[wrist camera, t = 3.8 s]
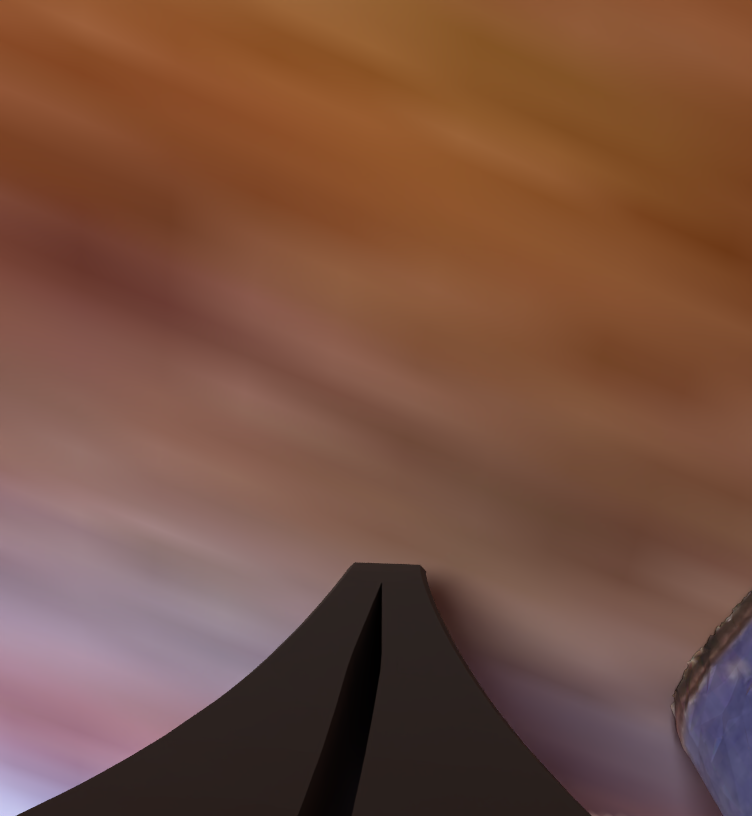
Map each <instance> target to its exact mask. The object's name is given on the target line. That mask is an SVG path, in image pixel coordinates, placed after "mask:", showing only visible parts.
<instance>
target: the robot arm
mask: <svg viewBox="0 0 752 816" xmlns="http://www.w3.org/2000/svg"><path fill="white" fill-rule="evenodd" d="M17 816H591V815H590V814H589V813H588V812H587V811H586V810H585V809H584V808H583V807H582V806H581V805H580V804H579V803H578V802H577V801H576V800H575V799H574V798H573V797H572V796H571V795H570V794H569V793H568V792H567V791H566V789H565V788H564V787H563V786H562V785H561V784H560V783H559V782H558V781H557V780H556V779H555V777H554V776H553V775H552V774H551V773H550V772H549V771H548V770H547V769H546V768H545V766H544V765H543V764H542V763H541V762H540V761H539V760H538V759H537V758H536V757H535V755H534V754H533V753H532V752H531V751H530V750H529V749H528V748H527V747H526V746H525V744H524V743H523V742H522V741H521V740H520V738H519V737H518V736H517V734H516V733H515V732H514V731H513V729H512V728H511V727H510V726H509V724H508V723H507V722H506V721H505V719H504V718H503V717H502V716H501V714H500V713H499V712H498V710H497V709H496V707H495V706H494V705H493V703H492V702H491V701H490V699H489V698H488V697H487V695H486V694H485V692H484V691H483V689H482V688H481V686H480V685H479V683H478V682H477V680H476V679H475V677H474V676H473V674H472V673H471V671H470V669H469V668H468V666H467V664H466V663H465V661H464V659H463V658H462V656H461V654H460V653H459V651H458V649H457V647H456V646H455V644H454V642H453V640H452V638H451V636H450V634H449V632H448V630H447V628H446V626H445V624H444V622H443V620H442V618H441V616H440V614H439V612H438V609H437V607H436V605H435V602H434V600H433V597H432V595H431V592H430V589H429V586H428V582H427V578H426V571H425V570H424V569H423V568H422V567H421V566H420V565H409V564H381V563H354V564H353V565H352V566H351V567H349V569H348V570H347V571H346V572H345V574H344V575H343V576H342V578H341V579H340V580H339V581H338V583H337V584H336V585H335V586H334V588H333V589H332V590H331V591H330V592H329V594H328V595H327V596H326V597H325V598H324V600H323V601H322V602H321V603H320V604H319V605H318V606H317V608H316V609H315V610H314V611H313V612H312V613H311V614H310V615H309V616H308V618H307V619H306V620H305V621H304V622H303V623H302V624H301V625H300V626H299V627H298V628H297V629H296V630H295V632H293V633H292V634H291V635H290V636H289V637H288V638H287V639H286V640H285V641H284V642H283V643H282V644H281V645H280V646H279V647H278V648H277V649H276V650H275V651H274V652H273V653H272V654H271V655H270V656H269V657H268V658H267V659H266V660H265V661H264V662H262V663H261V664H260V665H259V666H258V667H257V668H256V669H255V670H253V671H252V672H251V673H250V674H249V675H248V676H246V677H245V678H244V679H243V680H242V681H240V682H239V683H238V684H237V685H235V686H234V687H233V688H232V689H230V690H229V691H228V692H227V693H225V694H224V695H223V696H221V697H220V698H219V699H217V700H216V701H215V702H213V703H212V704H210V705H209V706H207V707H206V708H204V709H203V710H201V711H200V712H199V713H197V714H196V715H194V716H193V717H191V718H190V719H188V720H187V721H185V722H184V723H182V724H181V725H180V726H178V727H177V728H175V729H174V730H172V731H171V732H169V733H168V734H166V735H165V736H163V737H162V738H160V739H158V740H157V741H155V742H153V743H152V744H150V745H149V746H147V747H145V748H144V749H142V750H140V751H139V752H137V753H135V754H134V755H132V756H130V757H129V758H127V759H125V760H123V761H121V762H120V763H118V764H116V765H114V766H113V767H111V768H109V769H107V770H105V771H104V772H102V773H100V774H98V775H96V776H95V777H93V778H91V779H89V780H87V781H85V782H83V783H81V784H80V785H78V786H76V787H74V788H72V789H70V790H68V791H66V792H64V793H62V794H60V795H58V796H56V797H54V798H51V799H49V800H47V801H45V802H43V803H41V804H39V805H37V806H35V807H33V808H31V809H29V810H27V811H25V812H23V813H21V814H19V815H17Z"/></svg>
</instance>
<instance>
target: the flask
mask: <svg viewBox="0 0 752 816" xmlns="http://www.w3.org/2000/svg"><path fill="white" fill-rule="evenodd" d="M715 632H716V634H715V635H711V636H710V638H709V640H708V643H707V644H705V647H703V648H700V649H701V651H698V652H696V654H695V655H694V656H693V658H692V660H691V661H689V662H687V663H688V669H686V670H685V672H684V675H683V680H682V681H681V683H680V685H679V686H678V688H677V692H676V691H675V693H674V695H673V697H674V699H675V702H674V703H673V704H672V705H671V709H672V711H673V714H674V716H675V719H676V727H677V733H678V735H679V738H680V741H681V744H682V747H683V749H684V750H685V752H686V753H687V754H688V756H689V757H690V759H691V760H692V762H693V764H694V766H695V767H696V769H697V771H698V773H699V774H700V776H701V778H702V780H703V781H704V783H705V785H706V787H707V788H708V790H709V792H710V794H711V796H712V797H713V799H714V801H715V802H716V804H717V805H718V807H719V809H720V811H721V813H722V814H723V816H752V591H750V592H749V594H748V595H747V597H744V599H743V601H742V603H741V604H738V605H737V606H736V607H735V608H734V609H733V613H732V614H731V616H730V617H728V618H727V619H726V621H725V622H723V623H722V624H721V627H719V626H717V629H716V631H715Z"/></svg>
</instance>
